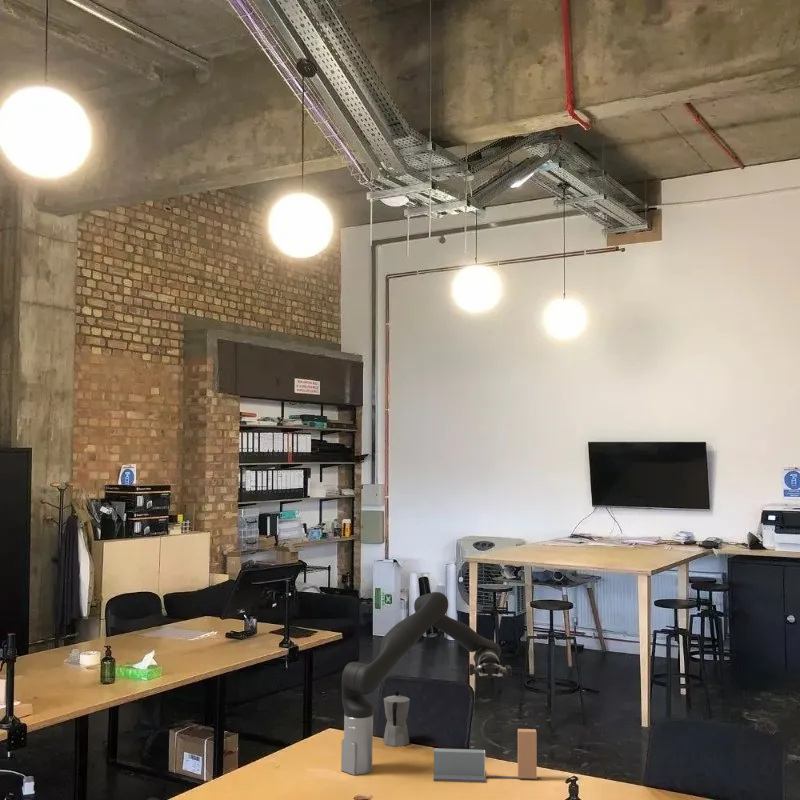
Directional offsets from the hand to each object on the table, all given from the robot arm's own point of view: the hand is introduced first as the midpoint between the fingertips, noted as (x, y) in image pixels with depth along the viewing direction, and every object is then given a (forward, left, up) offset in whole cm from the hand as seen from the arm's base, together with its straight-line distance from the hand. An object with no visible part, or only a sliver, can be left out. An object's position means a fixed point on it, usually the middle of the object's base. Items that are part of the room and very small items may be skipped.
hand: (491, 675), depth 285 cm
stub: (-4, -17, -28) cm, 33 cm away
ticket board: (-12, -8, -28) cm, 32 cm away
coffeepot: (-9, +35, -28) cm, 46 cm away
